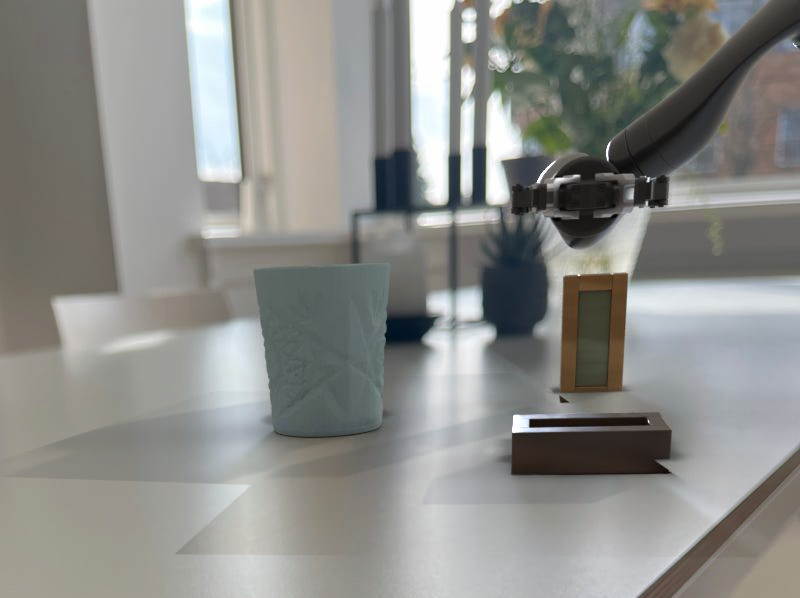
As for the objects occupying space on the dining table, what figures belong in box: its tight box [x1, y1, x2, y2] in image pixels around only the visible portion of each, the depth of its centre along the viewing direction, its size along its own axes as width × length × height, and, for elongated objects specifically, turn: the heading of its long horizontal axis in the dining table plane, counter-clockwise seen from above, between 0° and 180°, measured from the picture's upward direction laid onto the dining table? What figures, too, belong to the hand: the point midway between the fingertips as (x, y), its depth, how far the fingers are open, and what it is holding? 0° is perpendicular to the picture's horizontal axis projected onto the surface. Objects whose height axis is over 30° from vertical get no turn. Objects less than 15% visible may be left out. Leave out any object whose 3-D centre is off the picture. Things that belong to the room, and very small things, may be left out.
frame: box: [558, 271, 629, 403], centre depth 85 cm, size 2×5×10 cm, turn 79°
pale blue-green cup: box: [252, 262, 391, 438], centre depth 79 cm, size 10×10×12 cm
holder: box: [510, 411, 673, 475], centre depth 63 cm, size 6×9×2 cm
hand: (591, 193), depth 91 cm, fingers open, 8 cm apart
